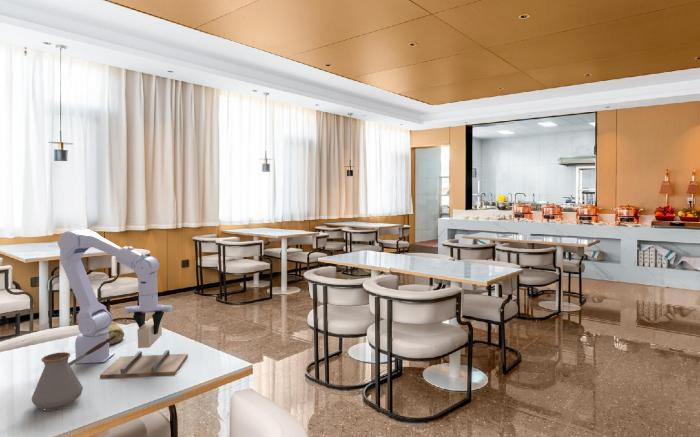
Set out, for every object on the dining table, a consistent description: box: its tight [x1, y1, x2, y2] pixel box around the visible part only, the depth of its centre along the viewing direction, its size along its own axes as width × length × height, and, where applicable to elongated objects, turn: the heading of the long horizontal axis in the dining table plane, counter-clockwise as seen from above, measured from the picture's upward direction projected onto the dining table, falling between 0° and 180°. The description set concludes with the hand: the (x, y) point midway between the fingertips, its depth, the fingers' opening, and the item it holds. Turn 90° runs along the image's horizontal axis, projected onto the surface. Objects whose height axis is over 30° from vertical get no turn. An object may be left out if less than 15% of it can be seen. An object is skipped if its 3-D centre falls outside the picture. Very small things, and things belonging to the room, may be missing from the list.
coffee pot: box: [31, 335, 119, 411], centre depth 122 cm, size 21×12×15 cm, turn 137°
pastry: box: [108, 321, 125, 346], centre depth 168 cm, size 14×12×8 cm
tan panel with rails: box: [99, 349, 189, 379], centre depth 143 cm, size 22×15×2 cm
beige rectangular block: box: [136, 317, 163, 349], centre depth 149 cm, size 4×13×6 cm, turn 6°
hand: (149, 333), depth 149 cm, fingers closed on beige rectangular block, 3 cm apart
